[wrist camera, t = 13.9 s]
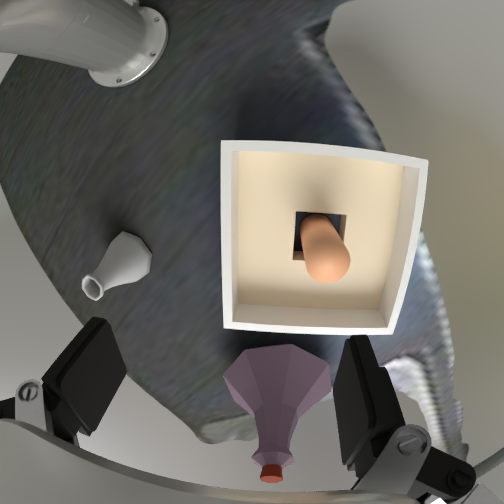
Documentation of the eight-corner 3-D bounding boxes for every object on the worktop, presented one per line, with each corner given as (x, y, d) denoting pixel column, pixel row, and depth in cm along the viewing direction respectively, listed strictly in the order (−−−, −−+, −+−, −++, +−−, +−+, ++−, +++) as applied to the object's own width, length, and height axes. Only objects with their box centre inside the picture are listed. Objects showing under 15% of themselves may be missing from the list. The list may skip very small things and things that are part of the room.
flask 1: (121, 221, 35) (77, 246, 26) (161, 252, 36) (125, 286, 27) (104, 259, 38) (64, 289, 28) (140, 288, 39) (106, 325, 29)
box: (234, 142, 30) (221, 140, 24) (401, 156, 28) (428, 160, 22) (233, 297, 37) (223, 328, 31) (377, 304, 35) (392, 334, 29)
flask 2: (222, 387, 44) (196, 486, 26) (234, 313, 38) (198, 434, 20) (313, 401, 44) (316, 499, 25) (346, 333, 38) (373, 451, 19)
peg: (300, 212, 32) (307, 239, 23) (333, 214, 32) (353, 241, 23) (298, 244, 34) (303, 282, 24) (330, 246, 33) (346, 284, 24)
